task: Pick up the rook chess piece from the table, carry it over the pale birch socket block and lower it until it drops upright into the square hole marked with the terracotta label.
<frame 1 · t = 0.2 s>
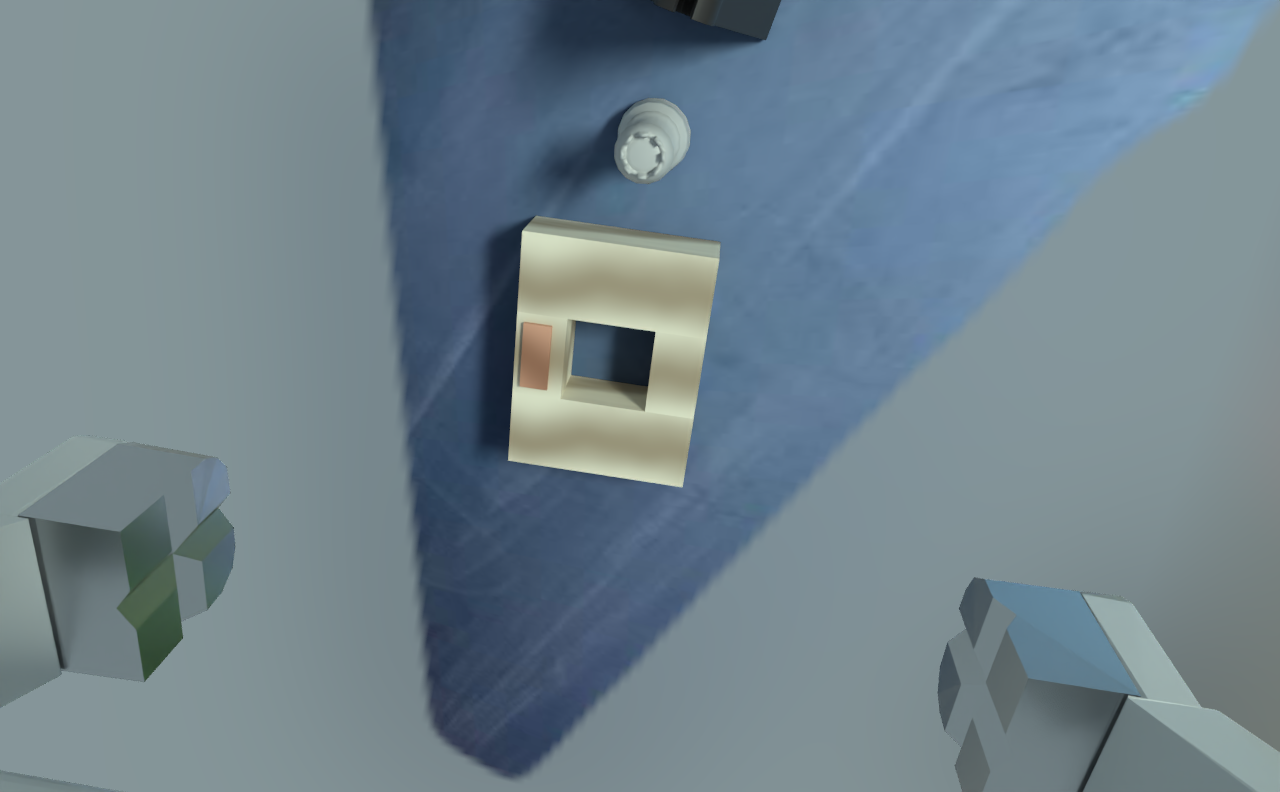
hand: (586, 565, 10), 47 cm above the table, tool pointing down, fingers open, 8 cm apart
rook chess piece: (655, 134, 53), on the table
socket block: (614, 343, 59), on the table
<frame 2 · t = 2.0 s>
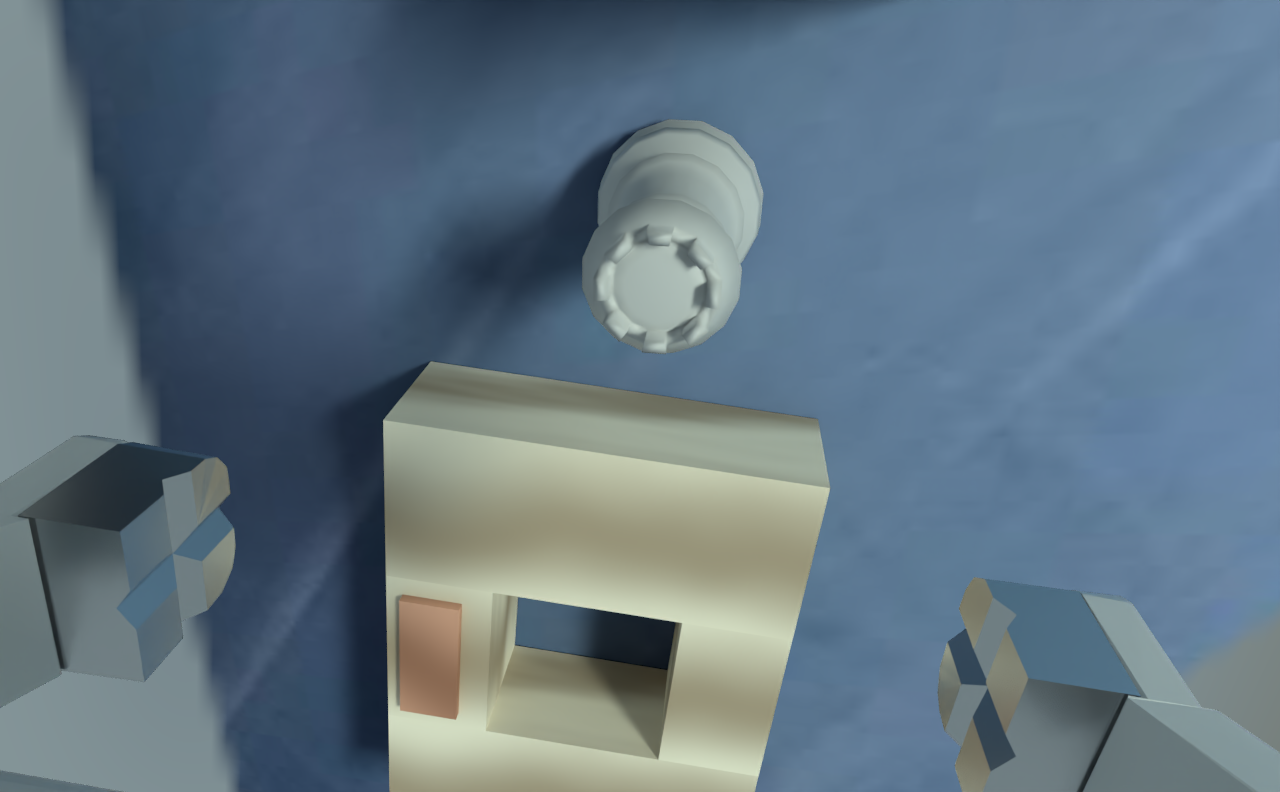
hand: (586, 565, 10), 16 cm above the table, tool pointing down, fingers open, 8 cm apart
rook chess piece: (681, 198, 24), on the table
socket block: (598, 596, 30), on the table
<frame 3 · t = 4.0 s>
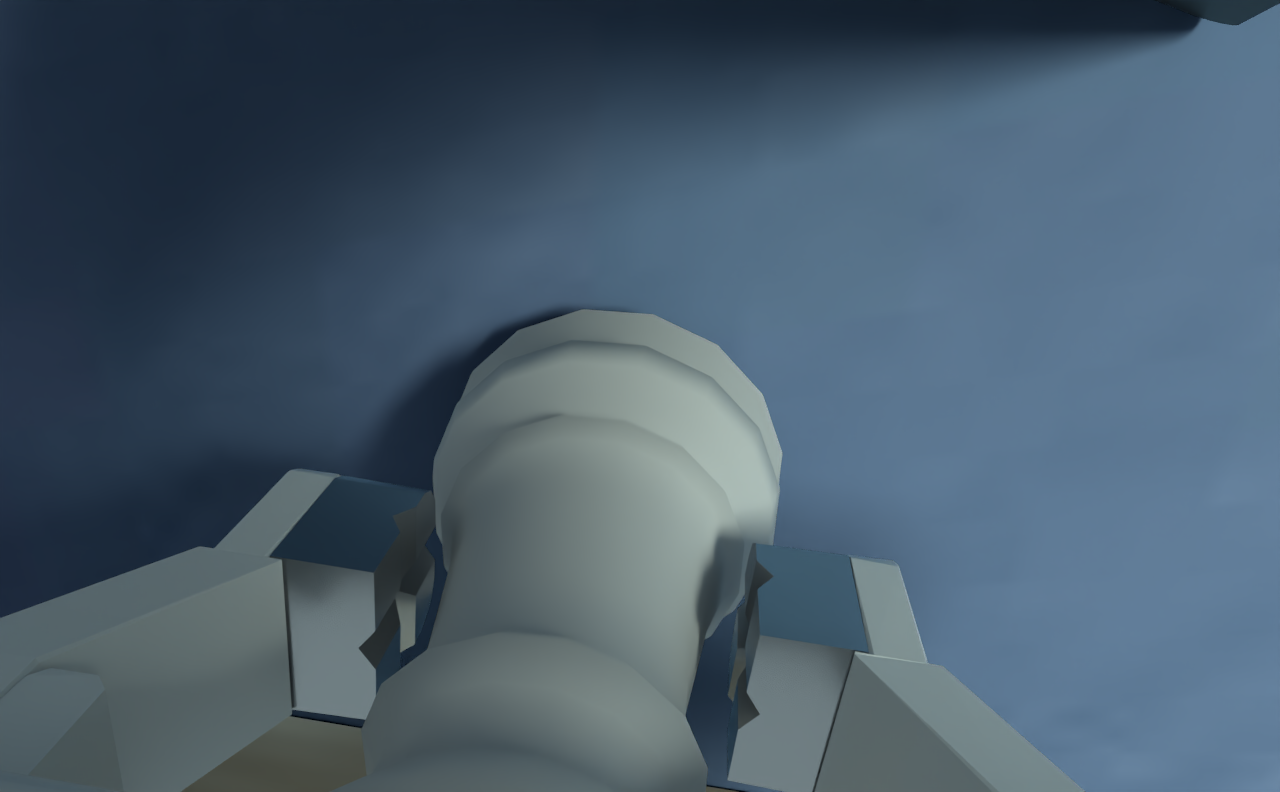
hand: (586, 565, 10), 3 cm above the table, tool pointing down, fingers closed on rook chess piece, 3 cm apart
rook chess piece: (619, 444, 12), on the table, touching gripper
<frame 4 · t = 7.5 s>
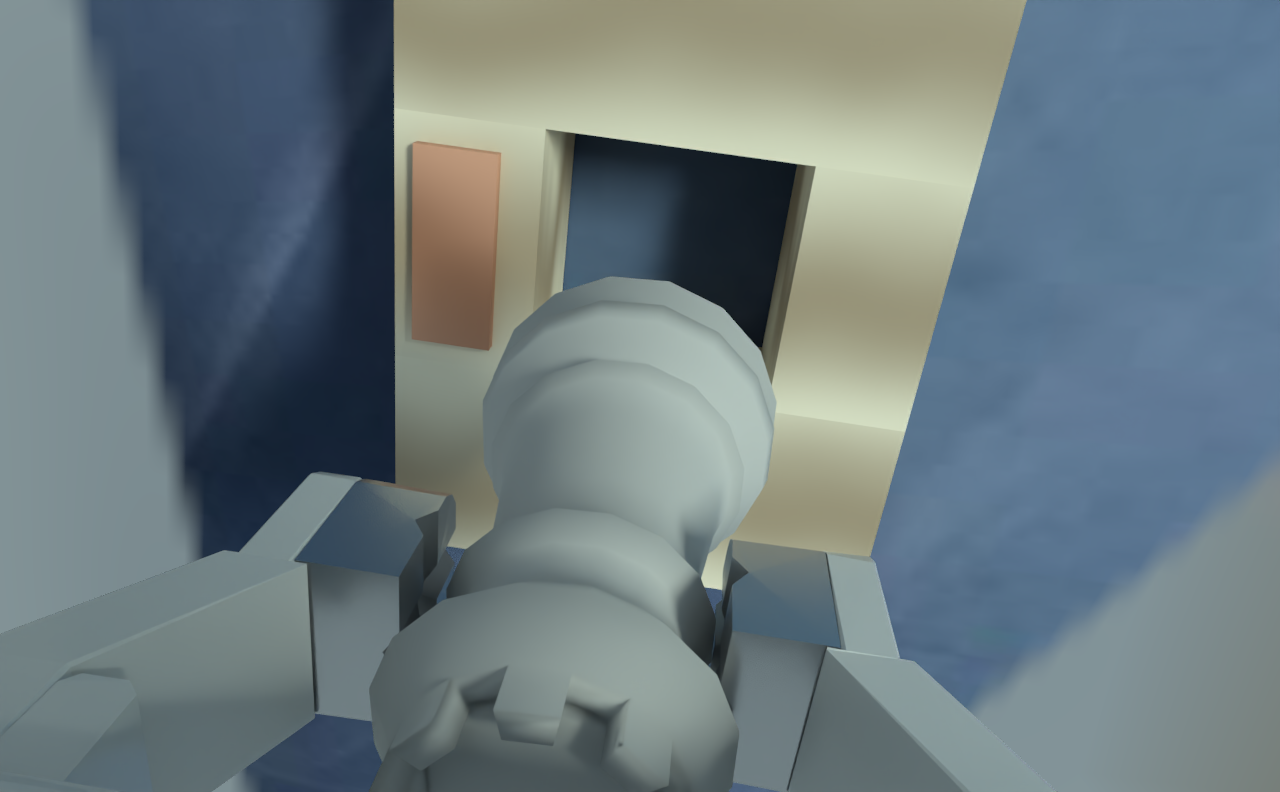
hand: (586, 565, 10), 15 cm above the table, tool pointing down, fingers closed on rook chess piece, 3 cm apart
rook chess piece: (636, 396, 14), point 10 cm above the table, touching gripper
socket block: (674, 232, 23), on the table
when the fingers open (5 cm above the table, at t = 9.8 s): rook chess piece stays where it is, resting in socket block.
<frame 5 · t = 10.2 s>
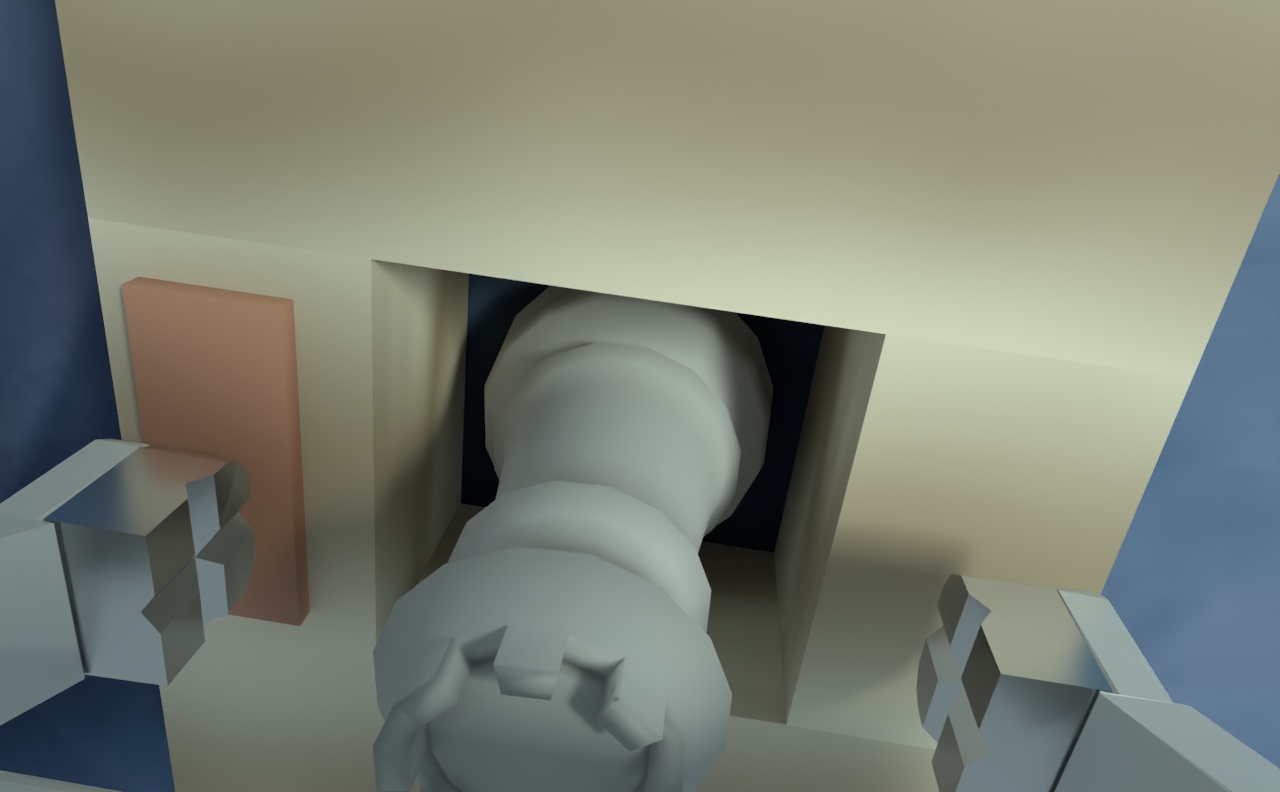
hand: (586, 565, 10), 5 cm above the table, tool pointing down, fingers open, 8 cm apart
rook chess piece: (635, 383, 14), resting in socket block
socket block: (634, 383, 14), on the table
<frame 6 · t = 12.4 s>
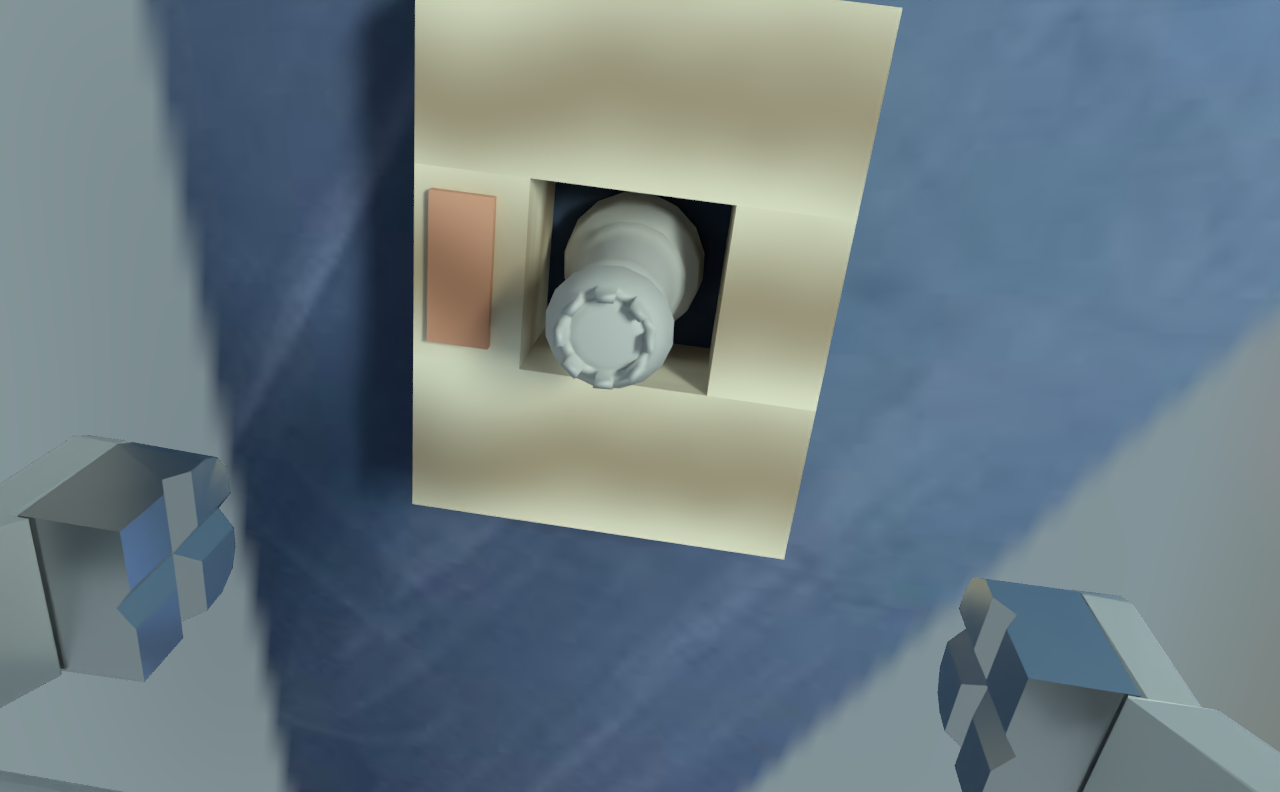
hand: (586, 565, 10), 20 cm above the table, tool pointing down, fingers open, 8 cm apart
rook chess piece: (637, 256, 28), resting in socket block
socket block: (636, 256, 28), on the table
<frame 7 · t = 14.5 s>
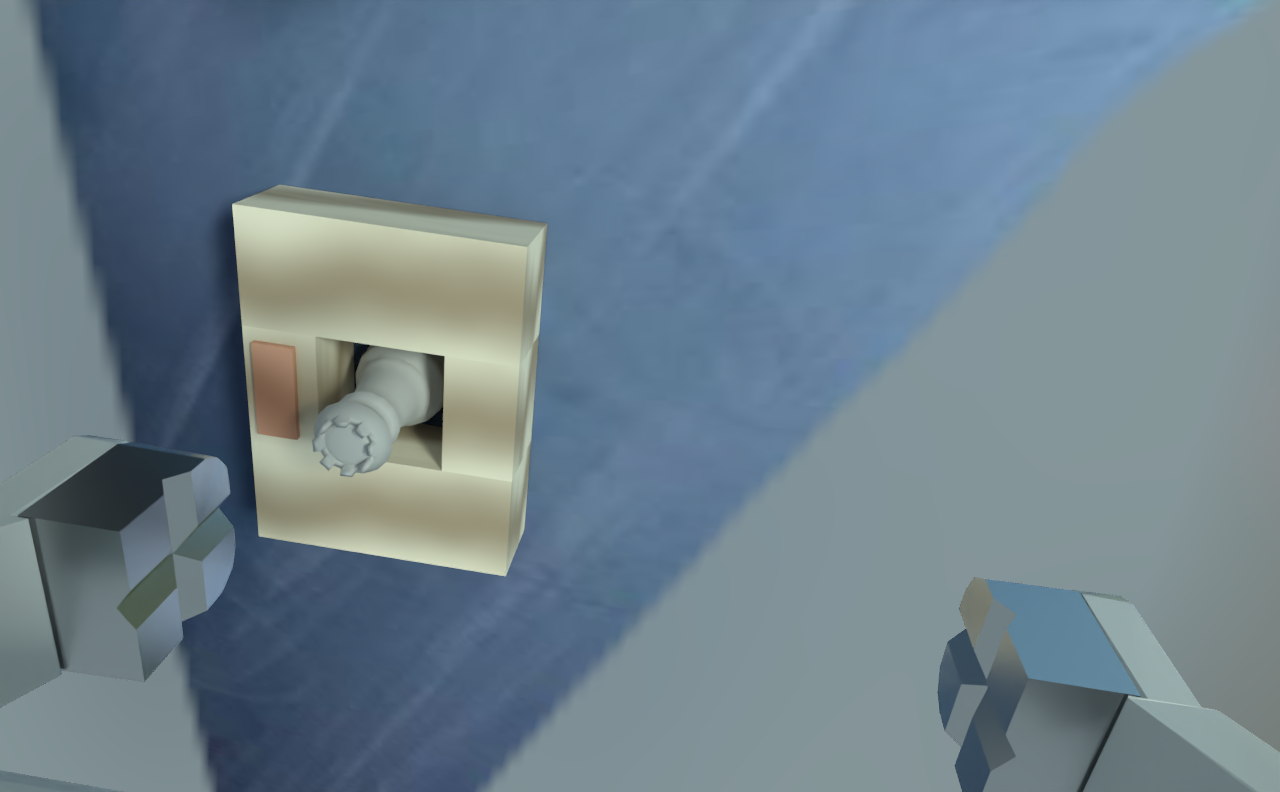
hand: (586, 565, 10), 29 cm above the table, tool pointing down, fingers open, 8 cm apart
rook chess piece: (413, 369, 42), resting in socket block
socket block: (411, 370, 41), on the table
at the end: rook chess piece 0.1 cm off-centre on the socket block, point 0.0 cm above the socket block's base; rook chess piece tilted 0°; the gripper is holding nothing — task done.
